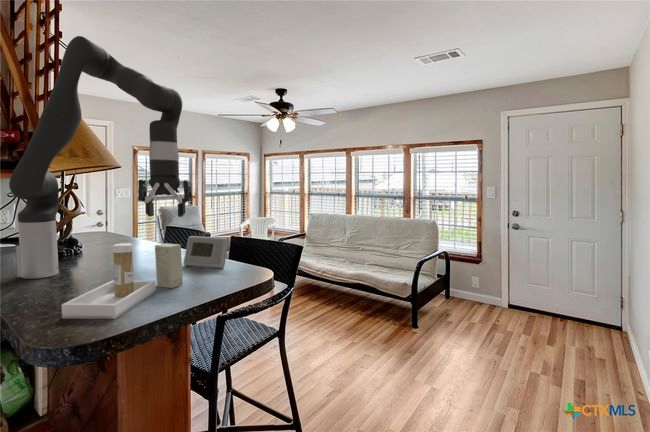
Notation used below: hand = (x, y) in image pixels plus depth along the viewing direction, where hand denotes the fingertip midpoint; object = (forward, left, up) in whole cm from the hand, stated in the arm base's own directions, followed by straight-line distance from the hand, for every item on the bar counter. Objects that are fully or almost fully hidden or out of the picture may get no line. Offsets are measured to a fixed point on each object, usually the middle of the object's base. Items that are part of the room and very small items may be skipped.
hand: (165, 216), depth 102 cm
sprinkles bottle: (-7, -10, -20) cm, 24 cm away
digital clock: (+3, +25, -21) cm, 33 cm away
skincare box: (0, +1, -21) cm, 21 cm away
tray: (-7, -15, -21) cm, 26 cm away
